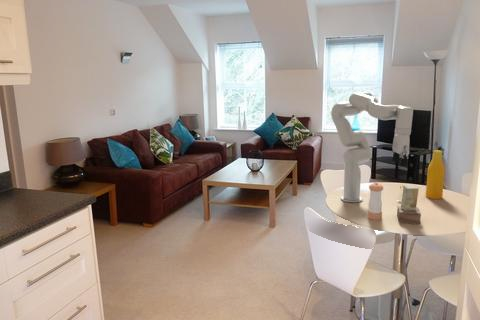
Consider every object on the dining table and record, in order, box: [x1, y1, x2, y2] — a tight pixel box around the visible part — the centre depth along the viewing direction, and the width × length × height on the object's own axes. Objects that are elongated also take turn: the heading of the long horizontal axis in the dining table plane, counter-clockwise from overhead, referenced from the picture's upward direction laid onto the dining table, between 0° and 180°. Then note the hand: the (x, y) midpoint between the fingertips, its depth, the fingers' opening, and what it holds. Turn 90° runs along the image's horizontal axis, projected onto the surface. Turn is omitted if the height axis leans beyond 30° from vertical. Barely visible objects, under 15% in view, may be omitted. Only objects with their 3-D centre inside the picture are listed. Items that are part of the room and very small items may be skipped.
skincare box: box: [400, 185, 420, 211], centre depth 198 cm, size 6×4×12 cm
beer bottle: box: [425, 149, 446, 200], centre depth 234 cm, size 9×9×29 cm
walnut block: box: [396, 205, 422, 225], centre depth 200 cm, size 10×10×6 cm
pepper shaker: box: [366, 181, 384, 221], centre depth 204 cm, size 7×7×19 cm
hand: (399, 163), depth 202 cm, fingers open, 9 cm apart
